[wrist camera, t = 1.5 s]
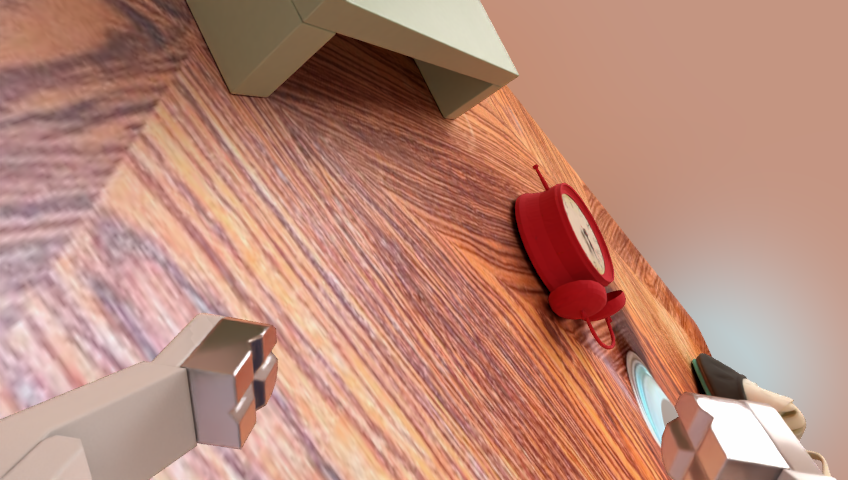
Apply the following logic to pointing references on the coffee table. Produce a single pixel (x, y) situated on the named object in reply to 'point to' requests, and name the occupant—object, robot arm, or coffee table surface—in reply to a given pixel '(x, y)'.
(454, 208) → the coffee table surface
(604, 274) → the alarm clock
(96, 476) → the robot arm
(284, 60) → the shoe rack
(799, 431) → the ballet flat
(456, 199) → the coffee table surface
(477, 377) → the coffee table surface
